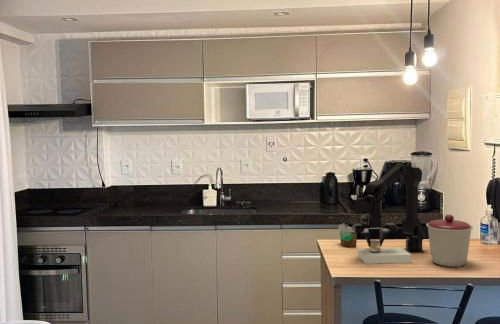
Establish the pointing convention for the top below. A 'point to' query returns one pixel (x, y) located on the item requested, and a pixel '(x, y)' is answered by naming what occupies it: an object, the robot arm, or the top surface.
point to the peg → (374, 246)
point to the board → (384, 256)
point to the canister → (449, 241)
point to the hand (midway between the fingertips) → (374, 246)
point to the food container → (347, 236)
